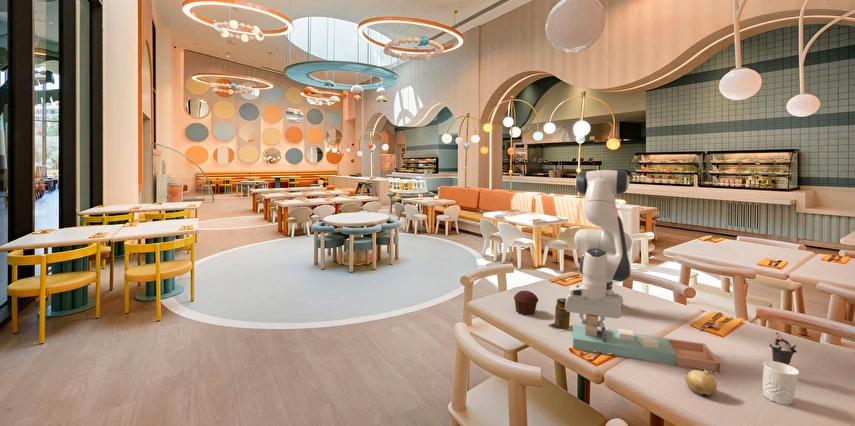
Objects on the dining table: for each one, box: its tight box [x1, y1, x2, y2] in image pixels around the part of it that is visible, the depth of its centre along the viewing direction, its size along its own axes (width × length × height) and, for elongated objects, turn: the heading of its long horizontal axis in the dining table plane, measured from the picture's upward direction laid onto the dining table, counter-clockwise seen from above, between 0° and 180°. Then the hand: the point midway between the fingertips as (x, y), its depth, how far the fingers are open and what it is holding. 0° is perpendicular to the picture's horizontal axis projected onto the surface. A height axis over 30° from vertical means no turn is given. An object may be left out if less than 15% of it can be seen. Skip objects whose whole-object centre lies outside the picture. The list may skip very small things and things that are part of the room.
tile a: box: [617, 328, 634, 341], centre depth 150 cm, size 5×5×2 cm
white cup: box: [761, 360, 800, 405], centre depth 117 cm, size 8×8×10 cm
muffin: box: [513, 290, 539, 316], centre depth 185 cm, size 12×11×10 cm
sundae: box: [768, 332, 798, 366], centre depth 129 cm, size 7×7×15 cm
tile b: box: [638, 336, 659, 348], centre depth 144 cm, size 5×5×2 cm
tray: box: [666, 337, 721, 374], centre depth 141 cm, size 16×12×4 cm
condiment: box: [547, 297, 573, 332], centre depth 168 cm, size 7×8×12 cm
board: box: [572, 324, 677, 366], centre depth 149 cm, size 14×34×4 cm, turn 70°
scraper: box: [584, 314, 607, 342], centre depth 151 cm, size 12×7×8 cm, turn 160°
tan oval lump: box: [685, 368, 717, 396], centre depth 120 cm, size 8×8×7 cm
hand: (591, 325), depth 152 cm, fingers closed on scraper, 4 cm apart
